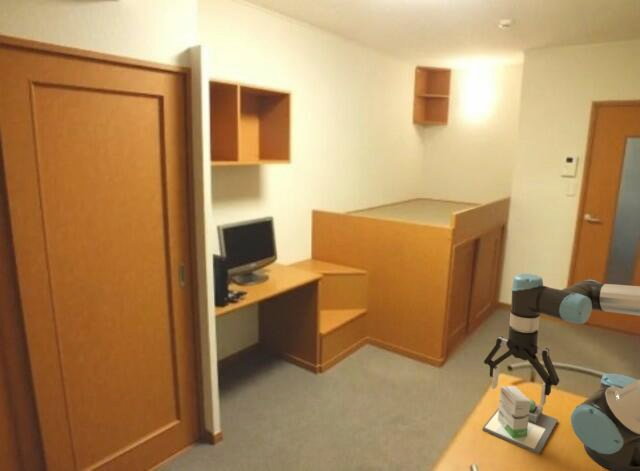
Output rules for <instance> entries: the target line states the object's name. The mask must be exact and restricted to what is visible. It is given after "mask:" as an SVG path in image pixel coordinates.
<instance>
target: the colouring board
mask: <svg viewBox="0 0 640 471" xmlns="http://www.w3.org/2000/svg"><path fill="white" fill-rule="evenodd" d="M543 409H544V406H541V405H540V404H537V403H536V404H535V412H533V413H530V412H529V419H528V429H527V436H524V437H514V438H513V437H512V436H511V435H510V434H509V433H508V432H507V431H506V429H505V428H504V427H503V426H502V425H501V424H500V423H499V421H498V411H499V407H498V408H497V409H496V410H495V412H494V413H493V414H492V415H491V416H490V418H489V419H488V421H486V423H485V424H484V425H483V426H482V431H483V432H486V433H488V434H490V435H493V436H495V437H497V438H499V439H502V440H504V441H506V442H509V443H511V444H513V445H515V446H518V447H520V448H522V449H524V450H527V451H530V452H531V453H534V454H536V455H538V456H540V454H541V453H542V451H543V449H544V447H545V446H546V443H547V441H548V440H549V438H550V436H551V434H552V432H553V431H554V429H555V427H556V425H557V424H558V420H559V419H558V418H555V417H553V416H551V415H547V414H545V413H543Z"/></svg>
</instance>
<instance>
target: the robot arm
mask: <svg viewBox="0 0 640 471" xmlns="http://www.w3.org/2000/svg"><path fill="white" fill-rule="evenodd" d="M510 302H511V304H510V314H509V315H510V317H509V327H508V336H507V337H508V339H506V338H504V337H503V336H502V335H501V336H499V337H498V338H497V339H496V341H495V345H494V346H493V348H492V350H491V351H490V352H489V353H488V355H487V357H486V358H485V359H484V360H483V363H484V364H485V365H488V366H489V377H491V378H492V383H491V389H492V390H495V389H496V388H497V387H498V385H499V384H498V383H499V369H500V366H499V364H500V363H502V362H504V360H506V359H508V358H509V357H510V356H513V357H514V358H515V359H521V361H528V362H529V364H530V365H531V366H532V367H533V368H534V369H535V371H536V373H537V374H538V375H539V377H540V378H541V380H542V381H543V383H542V384H541V394H540V403H539V406H542V407H544V406H545V404H546V403H547V396H549V395H550V394H551V393H552V386H558V385H559V383H560V378H559V376H558V373H557V372H556V369H555V366H554V364H553V361H552V360H551V357H550V349H549V348H547V347H545V348H541V347H540V348H539V346H538V336H539V327H540V326H539V324H540V315H545V316H549V317H552V318H555V319H560V320H562V321H565V322H568V323H573V324H577V325H581V324H585V323H586V322H587V321H588V319H589V318H591V317H590V316H591V314H592V311H599V312H607V313H617V314H624V315H632V316H633V315H634V316H640V285H639V286H638V285H628V284H627V285H626V284H625V285H623V284H612V283H603V282H602V283H601V282H599V281H597V280H594V279H586V280H584V279H583V280H581V281H578V282H576V283H574V284H572V285H570V286H567V287H564V288H562V289H558V288H554V287H549V286H546V285H544V281H543V277H541V276H538V275H536V274H531V273H520V274H516V275H515V276H514V277H513V281H512V288H511V301H510ZM504 345H506V348H507V349H508V350H507V351H506V352H504V353H503V354H502V355H500V356H499V357H498V358H496V359H494V360H493V358H494V357H495V355H496V354H497V353H498V351H499V350H500V348H502V347H504ZM537 354H539V356H540V357H541V358H542V361H543V364H544V366H545V368H544V366H543V365H542V363H541V362H540V360H539V358H538V356H537ZM570 423H571V424H570V425H571V427H572V430H573V433H574V434H575V436H576V437H577V438H578V439H579V441H580V442H581V443H582V444H583V447H584V451H585V452H586V455H588V456H589V457H590V458H591V459H592V460H593V461H595V463H596V464H599V465H600V466H601V467H603V468H606V469H608V470H610V471H640V378H638V379H637V378H633V377H631V376H627V375H625V374H620V373H605V374H603V375H602V377H601V379H600V386H599V389H598V390H597V391H596V392H594V393H593V394H592V395H591V396H589V397H588V398H587V399H585V401H583V402H582V403H581V404H578V405H576V406H575V408H574V410H573V411H572V413H571V415H570Z"/></svg>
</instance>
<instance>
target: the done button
mask: <svg viewBox="0 0 640 471" xmlns="http://www.w3.org/2000/svg"><path fill="white" fill-rule="evenodd" d="M527 398H528V397H527ZM528 399H529V400H530V409H529V412H530V413H533V412H535V404H536V405H537V403H536V401H535V400H533V399H531V398H528Z"/></svg>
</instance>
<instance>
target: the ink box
mask: <svg viewBox="0 0 640 471" xmlns="http://www.w3.org/2000/svg"><path fill="white" fill-rule="evenodd" d="M499 392H500V393H499V402H498V408H499V411H498V421H499V423H500V424H501V425H502V426H503V427H504V428H505V429H506V431H507V432H508V433H509V434H510V435H511V436H512V437H513V438H514V437H524V436H527V429H528V419H529V409H530V400H529V399H530V398H529V399H528V397H527V396H526V395H525V394H524V393H523V392H522V391H521V390H520V389H519V388H518V387H517V386H516V385H504V386H500V390H499Z"/></svg>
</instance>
